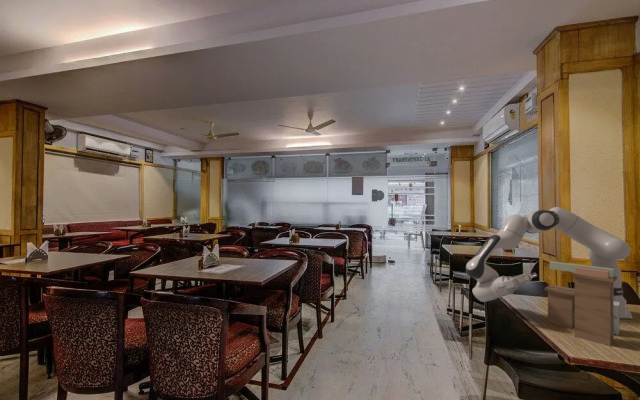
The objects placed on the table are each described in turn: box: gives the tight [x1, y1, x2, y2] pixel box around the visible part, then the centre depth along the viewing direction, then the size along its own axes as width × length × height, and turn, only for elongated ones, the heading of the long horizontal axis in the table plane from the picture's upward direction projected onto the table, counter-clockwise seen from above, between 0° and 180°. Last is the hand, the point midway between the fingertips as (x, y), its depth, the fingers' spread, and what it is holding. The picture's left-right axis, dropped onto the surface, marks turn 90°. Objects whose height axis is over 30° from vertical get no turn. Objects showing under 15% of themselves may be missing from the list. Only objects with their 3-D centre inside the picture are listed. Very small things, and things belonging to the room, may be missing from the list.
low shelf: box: [544, 284, 575, 329], centre depth 147 cm, size 9×11×16 cm
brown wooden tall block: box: [570, 272, 617, 347], centre depth 130 cm, size 9×13×26 cm
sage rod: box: [549, 261, 615, 277], centre depth 135 cm, size 3×21×3 cm, turn 39°
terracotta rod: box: [576, 267, 609, 278], centre depth 129 cm, size 2×10×2 cm, turn 39°
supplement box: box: [614, 301, 621, 336], centre depth 139 cm, size 7×7×13 cm
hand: (532, 275), depth 148 cm, fingers open, 8 cm apart
